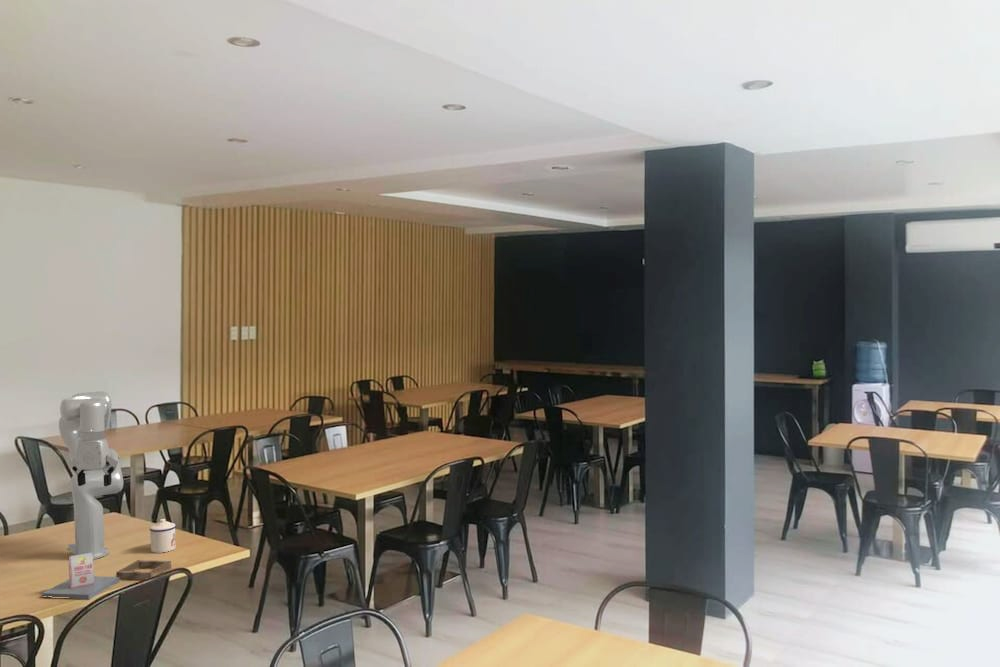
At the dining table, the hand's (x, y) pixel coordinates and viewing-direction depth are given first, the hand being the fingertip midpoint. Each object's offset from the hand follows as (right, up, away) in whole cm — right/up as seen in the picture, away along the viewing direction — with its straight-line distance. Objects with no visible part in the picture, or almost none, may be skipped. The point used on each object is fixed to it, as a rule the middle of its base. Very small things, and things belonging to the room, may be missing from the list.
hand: (94, 485), depth 273 cm
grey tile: (+4, -31, -16) cm, 35 cm away
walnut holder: (+18, -30, -2) cm, 35 cm away
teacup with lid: (+13, -29, +26) cm, 41 cm away
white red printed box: (+4, -30, -16) cm, 34 cm away
